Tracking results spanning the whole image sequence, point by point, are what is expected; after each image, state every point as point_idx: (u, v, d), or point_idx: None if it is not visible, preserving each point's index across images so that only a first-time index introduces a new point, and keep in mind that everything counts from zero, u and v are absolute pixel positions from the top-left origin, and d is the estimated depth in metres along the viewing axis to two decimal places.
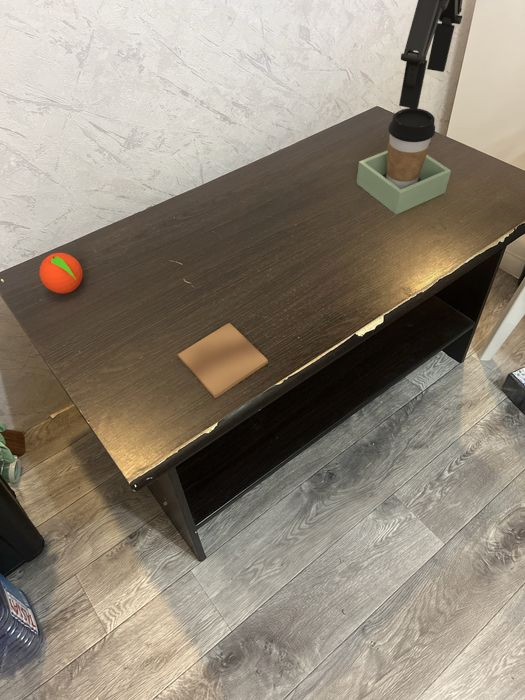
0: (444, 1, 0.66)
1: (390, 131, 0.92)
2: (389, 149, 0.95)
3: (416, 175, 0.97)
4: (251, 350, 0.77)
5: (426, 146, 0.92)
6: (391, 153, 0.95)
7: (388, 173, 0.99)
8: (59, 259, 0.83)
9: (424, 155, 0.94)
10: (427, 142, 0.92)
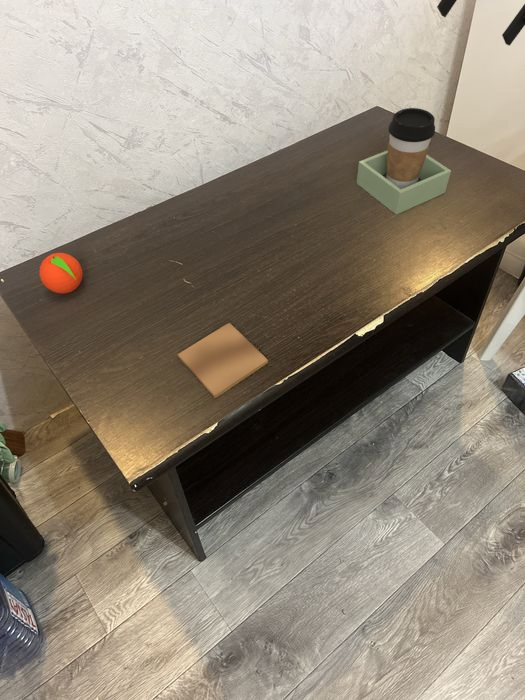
0: None
1: (390, 131, 0.92)
2: (389, 149, 0.95)
3: (416, 175, 0.97)
4: (251, 350, 0.77)
5: (426, 146, 0.92)
6: (391, 153, 0.95)
7: (388, 173, 0.99)
8: (59, 259, 0.83)
9: (424, 155, 0.94)
10: (427, 142, 0.92)
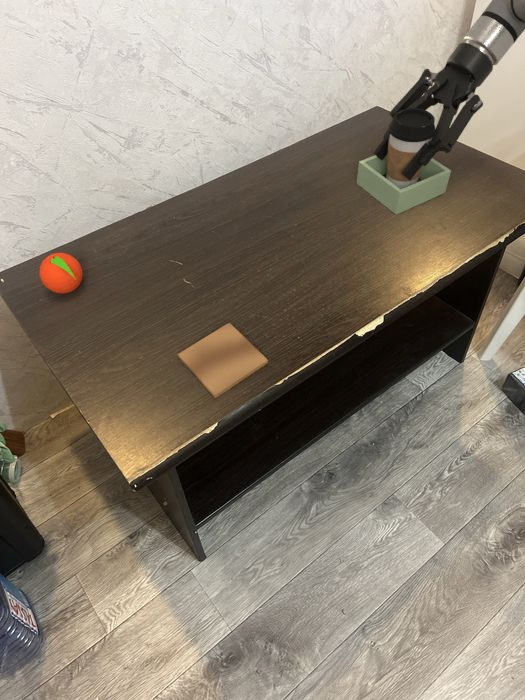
0: (427, 91, 0.92)
1: (390, 131, 0.92)
2: (389, 149, 0.95)
3: (416, 175, 0.97)
4: (251, 350, 0.77)
5: None
6: (391, 153, 0.95)
7: (388, 173, 0.99)
8: (59, 259, 0.83)
9: None
10: (427, 142, 0.92)
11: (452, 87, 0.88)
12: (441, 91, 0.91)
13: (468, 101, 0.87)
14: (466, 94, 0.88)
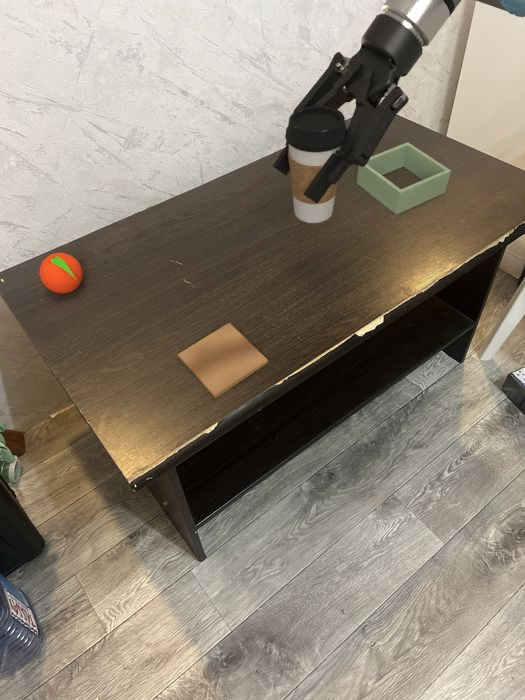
0: None
1: (286, 137, 0.67)
2: (289, 161, 0.70)
3: (329, 195, 0.72)
4: (251, 350, 0.77)
5: None
6: (291, 166, 0.70)
7: (293, 192, 0.74)
8: (59, 259, 0.83)
9: None
10: None
11: (367, 76, 0.64)
12: (354, 82, 0.66)
13: (387, 95, 0.62)
14: (385, 86, 0.63)
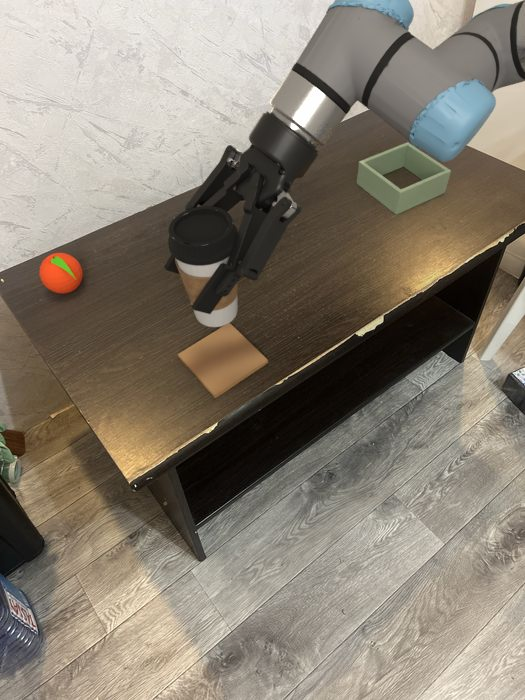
0: None
1: (168, 244, 0.59)
2: (177, 266, 0.62)
3: (226, 301, 0.64)
4: (251, 350, 0.77)
5: None
6: None
7: None
8: (59, 259, 0.83)
9: None
10: (225, 262, 0.58)
11: (254, 181, 0.55)
12: (244, 184, 0.58)
13: (274, 206, 0.54)
14: (274, 193, 0.55)
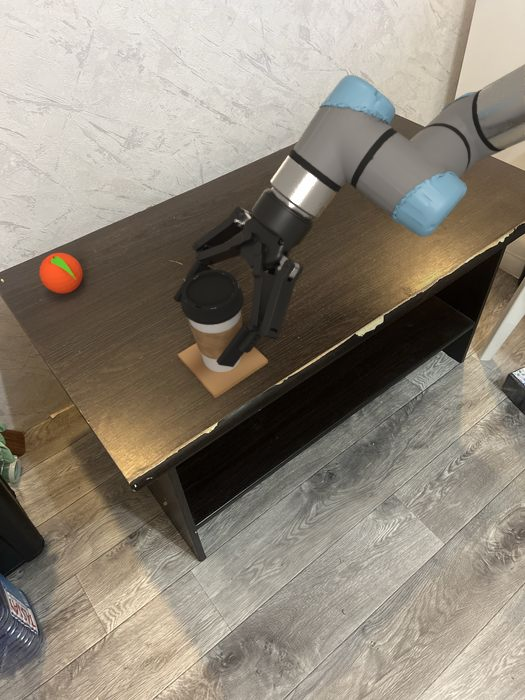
0: None
1: None
2: (188, 322, 0.69)
3: None
4: (251, 350, 0.77)
5: (232, 324, 0.67)
6: None
7: None
8: (59, 259, 0.83)
9: (233, 333, 0.68)
10: (231, 320, 0.66)
11: (257, 249, 0.63)
12: (247, 250, 0.65)
13: (280, 269, 0.61)
14: (274, 261, 0.62)
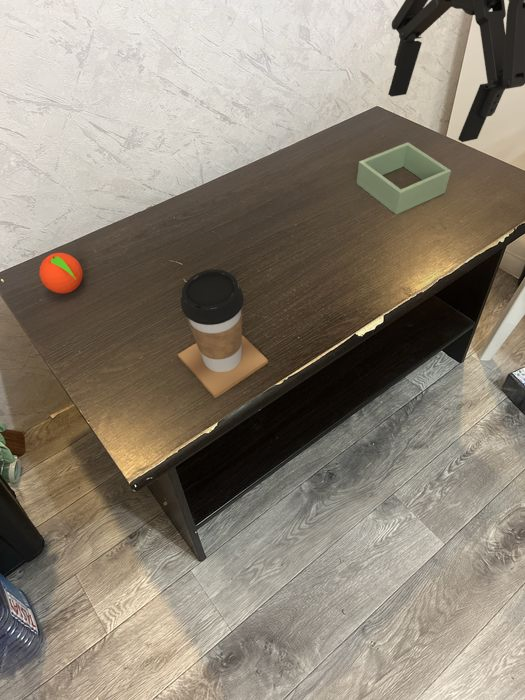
0: None
1: None
2: (188, 322, 0.69)
3: (231, 351, 0.72)
4: (251, 350, 0.77)
5: (232, 324, 0.67)
6: None
7: None
8: (59, 259, 0.83)
9: (233, 333, 0.68)
10: (231, 320, 0.66)
11: None
12: None
13: None
14: None
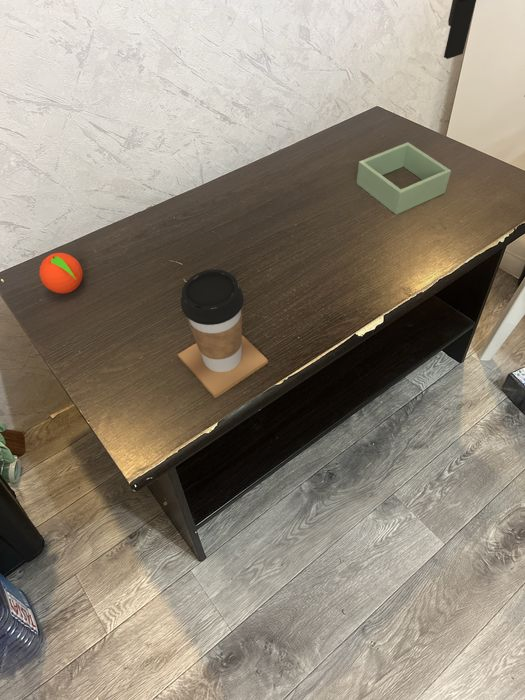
0: None
1: None
2: (188, 322, 0.69)
3: (231, 351, 0.72)
4: (251, 350, 0.77)
5: (232, 324, 0.67)
6: None
7: None
8: (59, 259, 0.83)
9: (233, 333, 0.68)
10: (231, 320, 0.66)
11: None
12: None
13: None
14: None
